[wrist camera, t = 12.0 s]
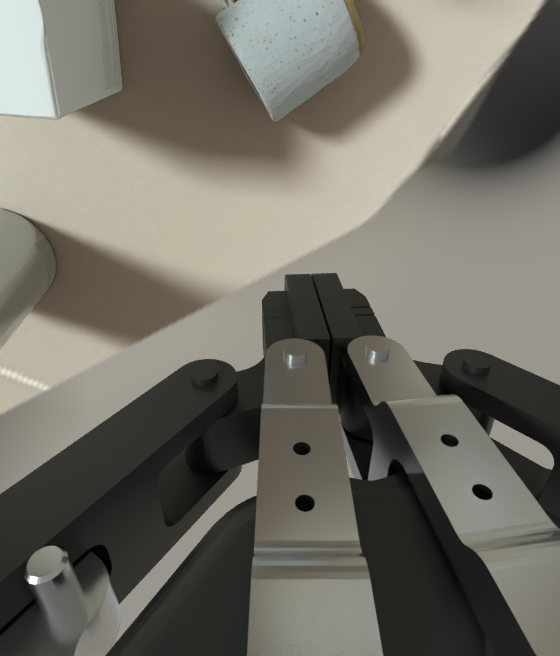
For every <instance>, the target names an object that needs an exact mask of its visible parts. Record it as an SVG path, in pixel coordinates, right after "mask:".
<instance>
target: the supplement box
mask: <svg viewBox="0 0 560 656" xmlns="http://www.w3.org/2000/svg"><path fill="white" fill-rule="evenodd" d="M122 89H123V86H122V75H121V64H120V54H119V43H118V32H117V22H116V12H115V2H114V0H0V115H5V116H16V117H27V118H39V119H50V120H59V119H61V118H62V117H64V116H66V115H68V114H70V113H72V112H74V111H77V110H79V109H81V108H83V107H86V106H88V105H90V104H92V103H95V102H97V101H99V100H101V99H104V98H106V97H108V96H111V95H113V94H115V93H118V92H120V91H122Z"/></svg>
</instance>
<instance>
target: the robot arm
mask: <svg viewBox="0 0 560 656" xmlns="http://www.w3.org/2000/svg"><path fill="white" fill-rule="evenodd" d="M55 274H56V260H55V255H54V252H53V250H52V247H51V245H50V244H49V242H48V240H47V239H46V237H45V236H44V235H43V234H42V233H41V232H40V230H39V229H38V228H37V227H36V226H34V225H33V224H32V223H30V222H29V221H28V220H27V219H25V218H23V217H21V216H19V215H17V214H16V213H13V212H10V211H7V210H4V209H0V349H1V348H2V347H3V346H4V344H5V343H6V342H7V340H8V339H9V338H10V337H11V335H12V334H13V333H14V332H15V330H16V329H17V328H18V326H19V325H20V324H21V323H22V321H23V320H24V319H25V318H26V316H27V315H28V314H29V313H30V311H31V310H32V309H33V307H34V306H35V305H36V304H37V302H38V301H39V300H40V299H41V297H42V296H43V295H44V293H45V292H46V291H47V290H48V288H49V287H50V285H51V284H52V283H53V280H54V277H55ZM262 319H263V320H262V324H263V351H264V358H263V359H262V360H261V361H260V362H259V363H258V364H256V365H255V366H253V367H251V368H249V369H246V370H242V371H238V372H236V371H235V369H234V368H233V367H232V366H231V365H230V364H228V363H226V362H223V361H220V360H215V359H204V360H197V361H193V362H190V363H188V364H186V365H184V366H182V367H181V368H180V369H178V370H177V371H175V372H174V373H173V374H171V375H170V376H168V377H167V378H165V379H164V380H162V381H161V382H160V383H158V384H157V385H155V386H154V387H152V388H151V389H150V390H148V391H147V392H145V393H144V394H142V395H141V396H140V397H138V398H137V399H135V400H134V401H133V402H131V403H130V404H128V405H127V406H125V407H124V408H123V409H121V410H120V411H118V412H117V413H115V414H114V415H113V416H111V417H110V418H108V419H107V420H106V421H104V422H103V423H101V424H100V425H98V426H97V427H96V428H94V429H93V430H91V431H90V432H89V433H87V434H85V435H84V436H83V437H81V438H80V439H78V440H77V441H76V442H74V443H73V444H71V445H70V446H68V447H67V448H66V449H64V450H63V451H61V452H60V453H59V454H57V455H56V456H54V457H53V458H51V459H50V460H49V461H47V462H46V463H44V464H43V465H41V466H40V467H38V468H37V469H36V470H34V471H33V472H31V473H30V474H29V475H27V476H26V477H24V478H23V479H22V480H20V481H19V482H17V483H16V484H14V485H13V486H11V487H10V488H9V489H7V490H6V491H4V492H3V493H1V494H0V656H560V385H558V384H555V383H553V382H551V381H549V380H546V379H544V378H542V377H539V376H537V375H535V374H533V373H531V372H528V371H526V370H524V369H522V368H519V367H517V366H515V365H513V364H510V363H508V362H506V361H503V360H501V359H499V358H497V357H494V356H492V355H490V354H487V353H484V352H481V351H476V350H470V349H460V350H455V351H452V352H450V353H448V354H447V355H446V356H445V358H444V362H443V365H437V364H431V363H424V362H419V361H415V360H412V359H411V357H410V355H409V354H408V353H407V351H406V350H405V348H404V347H403V346H402V345H401V344H400V343H398V342H396V341H394V340H392V339H389V338H386V336H385V334H384V332H383V330H382V328H381V327H380V324H379V322H378V320H377V318H376V316H374V312H373V310H372V308H370V304H369V302H368V300H367V299H366V297H365V296H364V295H363V294H361V293H360V292H358V291H357V290H356V289H343V287H342V285H341V282H340V280H339V278H338V275H337V273H326V274H325V273H322V274H311V275H310V274H291V275H285V291H273V292H270V291H269V292H268V293H267V294H266V296H265V297H264V298H263V300H262ZM339 415H340V417H339ZM340 419H341V421H340ZM495 419H496V420H498V421H500V422H501V423H503V424H505V425H507V426H509V427H511V428H513V429H515V430H517V431H519V432H520V433H522V434H524V435H526V436H528V437H530V438H532V439H533V440H535V441H537V442H539V443H541V444H542V445H544V446H545V447H547V449H548V450H549V451H550V452H551V454H552V455H553V458H554V467H553V469H552V470H550V469H546V468H544V467H542V466H540V465H538V464H536V463H535V462H533V461H531V460H529V459H528V458H526V457H524V456H522V455H520V454H519V453H517V452H515V451H513V450H511V449H510V448H508V447H506V446H504V445H503V444H501V443H499V442H497V441H496V440H494V439H492V438H490V437H489V435H490V432H491V429H492V426H493V422H494V420H495ZM346 457H347V460H348V462H349V465H350V468H351V471H352V474H353V477H354V478H349V473H348V467H347V461H346ZM258 459H259V463H258V482H257V496H254V497H252V498H250V499H247V500H246V501H244V502H242V503H240V504H238V505H237V506H235V507H234V508H233V509H231V510H230V511H229V512H227V513H226V514H225V515H224V516H223V517H222V518H221V519H219V520H218V521H217V522H216V523H215V524H214V525H213V526H212V528H211V529H210V530H209V531H208V532H207V534H206V535H205V536H204V537H203V538H202V540H201V541H200V542H199V543H198V544H197V546H196V547H195V548H194V549H193V551H192V552H191V553H190V554H189V555H188V556H187V558H186V559H185V560H184V561H183V563H182V564H181V565H180V566H179V567H178V569H177V570H176V571H175V572H174V573H173V575H172V576H171V577H170V578H169V579H168V581H167V582H166V583H165V584H164V586H163V587H162V588H161V589H160V590H159V592H158V593H157V594H156V595H155V596H154V598H153V599H152V600H151V601H150V602H149V604H148V605H147V606H146V607H145V608H144V610H143V611H142V612H141V613H140V614H139V616H138V617H137V618H136V619H135V621H134V622H133V623H132V624H131V625H130V627H129V628H128V629H127V630H126V631H125V633H124V634H123V635H122V636H121V638H120V639H119V640H118V641H117V642H116V643H115V645H114V646H113V647H112V645H113V643H114V641H115V639H116V637H117V634H118V632H119V628H120V622H121V612H120V607H119V604H120V603H121V602H122V601H123V599H124V598H125V597H126V596H127V595H128V594H129V593H130V592H131V591H132V590H133V589H134V588H135V587H136V586H137V584H138V583H139V582H140V581H141V580H142V579H143V578H144V577H145V576H146V575H147V574H148V572H150V571H151V569H152V568H153V567H154V566H155V565H156V564H157V563H158V562H159V561H160V560H161V559H162V558H163V556H164V555H165V554H166V553H167V552H168V551H169V550H170V549H171V548H172V547H173V546H174V545H175V544H176V543H177V542H178V540H179V539H180V538H181V537H182V536H183V535H184V534H185V533H186V532H187V531H188V530H189V529H190V528H191V526H192V525H193V524H194V523H195V522H196V521H197V520H198V519H199V518H200V517H201V516H202V514H204V513H205V511H206V510H207V509H208V508H209V507H210V506H211V505H212V504H213V503H214V502H215V501H216V500H217V498H218V497H219V496H220V495H221V494H222V493H223V492H224V491H225V490H226V489H227V488H228V487H229V486H230V485H231V484H232V482H233V481H234V480H235V479H236V478H237V477H238V475H239V474H240V472H241V469H242V465H243V464H246V463H249V462H252V461H255V460H258ZM111 647H112V648H111ZM110 648H111V649H110ZM109 650H110V651H109ZM108 651H109V652H108Z"/></svg>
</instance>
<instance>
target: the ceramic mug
mask: <svg viewBox="0 0 560 656" xmlns="http://www.w3.org/2000/svg"><path fill="white" fill-rule="evenodd" d="M221 4H222V6H223V9H224V10H223V11H221V12H220V13H218V14H217V16H216V17H215V21H216V23H217V25H218V27H219V29H220V31H221V32H222V34H223V36H224V38H225V40H226V42H227V44H228V45H229V47H230V49H231V51H232V53H233V55H234V56H235V58H236V59H237V61H238V63H239V65H240V67H241V69H242V71H243V72H244V74H245V76H246V78H247V79H248V81H249V83H250V85H251V86H252V88H253V90H254V91H255V93H256V95H257V96H258V98H259V100H260V102H261V103H262V105H263V107H264V109H265V110H266V111H267V113H268V115H269V116H270V117H271V119H272V120H273V121H275V122H276V121H279V120H280V119H282V118H283V117H284V116H286V115H287V114H288V113H290V112H291V111H292V110H294V109H295V108H296V107H298V106H299V105H301V104H302V103H303V102H305V101H306V100H308V99H309V98H310V97H312V96H313V95H314V94H316V93H317V92H318V91H319V90H321V89H322V88H323V87H325V86H326V85H328V84H329V83H330V82H332V81H333V80H335V79H336V78H338V77H339V76H340V75H342V74H343V73H344V72H346V71H347V70H348V69H349V68H350V67H351V66H352V65H353V64H354V63H355V62H356V61H357V60H358V58H359V57H360V56H361V54H362V51H363V48H364V32H363V27H362V23H361V19H360V16H359V13H358V10H357V8H356V5H355V2H354V0H238V1H236V2H235V3H233V4H232V5H230V6H229V4H228V1H227V0H221Z"/></svg>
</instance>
